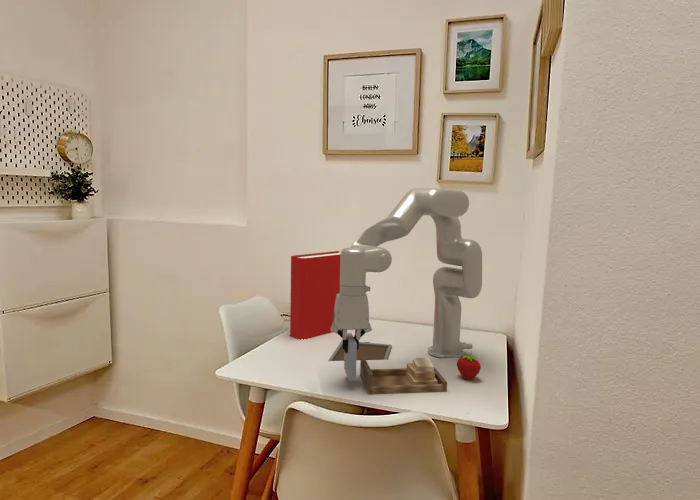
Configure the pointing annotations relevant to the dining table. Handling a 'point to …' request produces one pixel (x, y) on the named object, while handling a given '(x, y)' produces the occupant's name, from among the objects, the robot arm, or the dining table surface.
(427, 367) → the offcut top
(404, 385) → the tray
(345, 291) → the robot arm
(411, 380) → the offcut bottom
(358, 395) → the dining table surface
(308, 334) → the book
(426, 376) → the offcut middle
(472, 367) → the strawberry
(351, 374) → the grey square slab
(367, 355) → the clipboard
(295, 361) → the dining table surface
